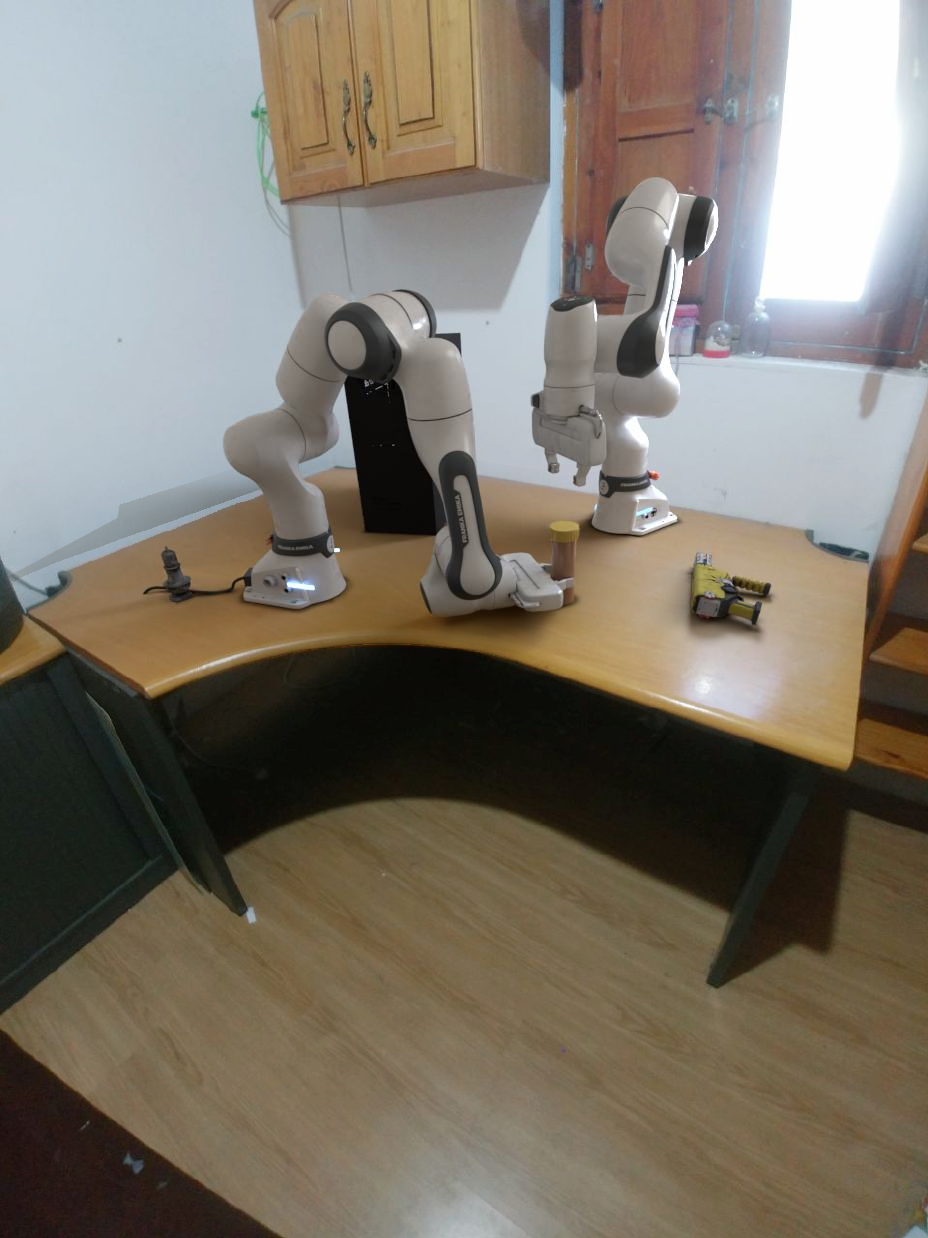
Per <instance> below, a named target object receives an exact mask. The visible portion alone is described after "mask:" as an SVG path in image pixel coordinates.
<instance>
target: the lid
mask: <svg viewBox="0 0 928 1238" xmlns="http://www.w3.org/2000/svg"><path fill="white" fill-rule="evenodd" d="M548 538H549V539H550V540H553V541H555V542H560V543H568V542H573V541H576V542H577V540H578V539H579V538H580V525H579V524H578V523H577V522H575V521H571V520H557V521H554V522H552V523H550V524H549V528H548Z"/></svg>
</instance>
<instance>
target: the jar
mask: <svg viewBox="0 0 928 1238" xmlns="http://www.w3.org/2000/svg"><path fill="white" fill-rule="evenodd" d="M550 540H551V539H550ZM576 559H577V540H576V541H573V542H568V543H560V542H555V541H553V540H551V541H550V564H551V574H550V578H551V579H552V580H553V581H556V580H558V582H559V581H561V580H563V577H568V576H571V577H572V578H573V579H574V584H575V581H576V580H575V579H576V561H577V560H576ZM574 601H575V585H574V586H573V587H570V588H566V589H565V590H563V605H562V606H566V605H570V604H572V603H574Z"/></svg>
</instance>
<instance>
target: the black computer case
mask: <svg viewBox="0 0 928 1238" xmlns="http://www.w3.org/2000/svg"><path fill="white" fill-rule="evenodd" d="M434 338H441V339H445V340H447V341H450V342H451V343H453V344H454V345H455V346H456V347H457V348H458V350H459V352H460V355H461V358H462V359H463V357H462V356H463V355H462V354H463V353H462V336H461V332H447V333H446V332H442V333H441V332H440V333H436V334H435V337H434ZM386 378H387V377H386ZM386 378H385V379H386ZM343 386H344V387H343V388H344V394H345V395H344V396H345V400H346V408H347V409H346V410H347V415H348V421H349V430H350V436H351V437H350V438H351V444H352V450H353V458H354V463H355V464H354V465H355V470H356V471H355V472H356V477H357V485H358V492H359V498H360V499H359V500H360V506H361V514H362V520H363V528H364V532H367V533H368V532H370V533H393V534H394V533H395V534H416V535H417V534H419V535H436V534H437V533H438V532H439V530H440V529H442V528H443V527H444V526H445V523H447V520H446V515H445V509H444V505H443V501H442V498H441V495H440V493H439V491H438V489H437V487H436V485H435V483H434V481H433V479H432V477H431V476H430V474H429V472H428V471H427V469H426V468H425V466H424V465H423V463H422V461H421V460H420V458H419V456H418V453H417V451H416V448H415V446H414V443H413V440H412V437H411V434H410V430H409V426H408V420H407V414H406V408H405V402H404V397H403V393H402V390H401V388H400V386H399V384H398V383H397V382H396V381H395V380H394V379H391V380H390V381H389V382H388V383H386V384H381V383H377V382H374V381H372V380H368V379H361V378H356V377H352V376H349V375H348V376H347V378H346V380H345V382H344V384H343Z"/></svg>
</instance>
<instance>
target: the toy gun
mask: <svg viewBox="0 0 928 1238" xmlns="http://www.w3.org/2000/svg"><path fill="white" fill-rule="evenodd" d="M703 553H704V552H702V551H698V552H696V553H695V557H694V560H693V565H692V566H693V568H692V570H693V571H692V576H691V599H690V601H691V602H690V603H691V604H690V610H691V612H692V614H697V615H699V617H700V618H705V619H710V617H712V618H722V617H724V616H726V615H727V614H729V615H732V616H737V617H740V618H743V619H746V620H748V621H751V625H752V626H756V625H757V623H758V619H759V616H760V613H761V610H762V606H763V602H762V601H759V600H756V601H755V603H754V604H753V603H749V602H746V601H745V600H744V597H743V596H741V595H739V593H740V592H739V588H740V589H741V590H743V589H745V590H746V591H752V592H754V593H758V594H761V595H763V596H768V595H769V594H770V591H771V588H772V584H771V583H770V582H764V581H762V582H761V581H760V580H754V579H752V578H747V577H746V576H743V577H741V576H740V575H736V574H735V575H734V576H732V577H731V576H730V574H729V573H728V571H724V570H721V569H717V568H715V567H714V566H713V556H712V554H711V553H708V552H706V554H705V555H704V554H703Z"/></svg>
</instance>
